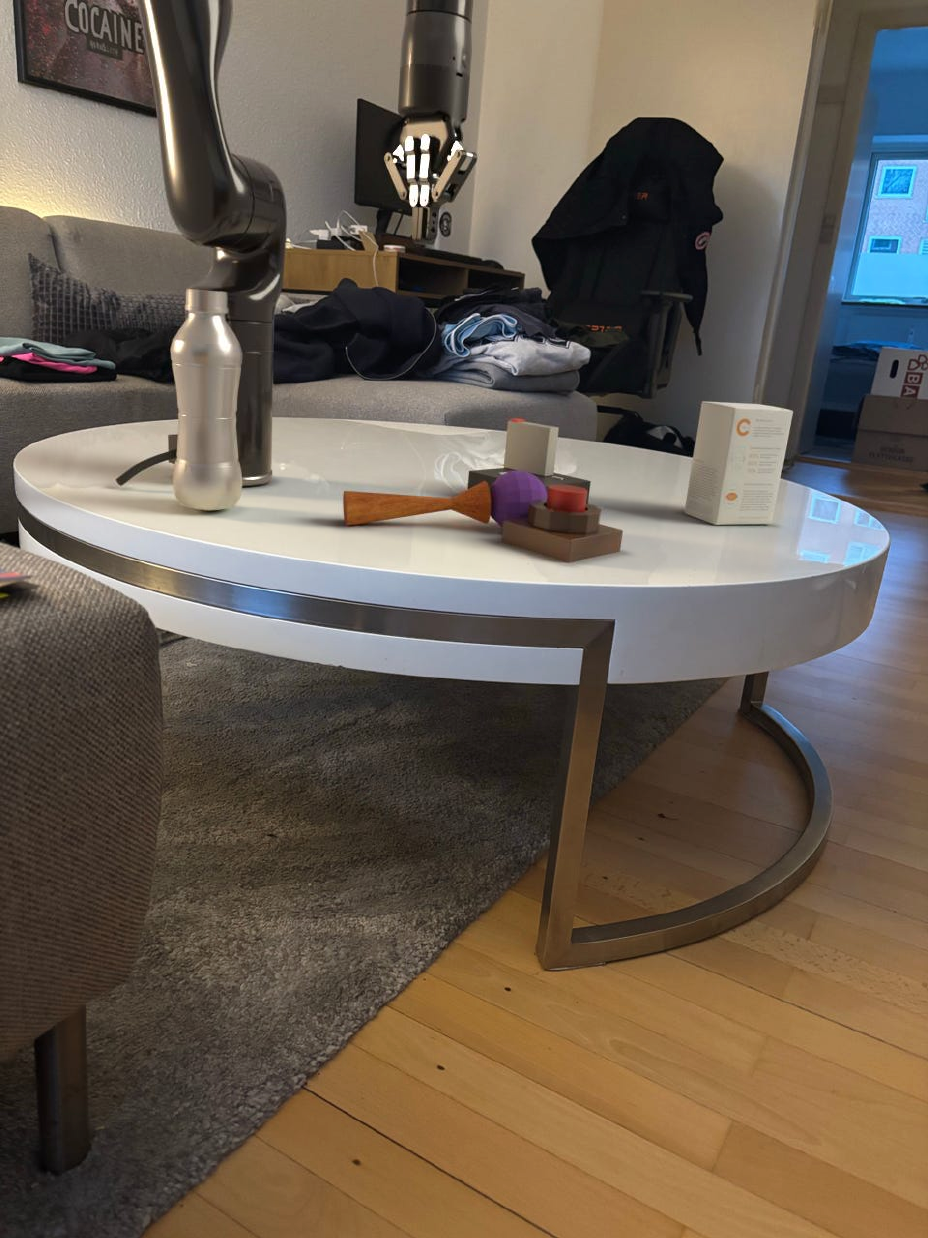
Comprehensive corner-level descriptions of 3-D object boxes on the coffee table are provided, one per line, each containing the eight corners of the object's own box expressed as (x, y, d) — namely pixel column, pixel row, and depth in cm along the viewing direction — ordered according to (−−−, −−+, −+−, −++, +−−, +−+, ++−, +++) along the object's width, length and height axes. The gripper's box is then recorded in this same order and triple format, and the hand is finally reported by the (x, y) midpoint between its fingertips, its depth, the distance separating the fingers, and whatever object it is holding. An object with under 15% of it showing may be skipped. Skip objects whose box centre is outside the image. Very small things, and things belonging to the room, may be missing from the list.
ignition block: (568, 564, 81) (573, 519, 79) (500, 543, 86) (505, 501, 84) (620, 552, 86) (626, 511, 85) (553, 534, 91) (558, 494, 90)
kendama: (340, 476, 89) (536, 469, 93) (343, 538, 90) (537, 528, 94) (346, 476, 83) (555, 469, 88) (350, 542, 84) (556, 531, 89)
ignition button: (568, 515, 82) (571, 493, 82) (538, 507, 85) (540, 485, 84) (592, 512, 85) (595, 490, 84) (562, 504, 87) (564, 483, 87)
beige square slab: (553, 475, 107) (559, 425, 105) (544, 476, 105) (550, 425, 103) (512, 466, 110) (517, 418, 108) (503, 467, 109) (508, 418, 107)
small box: (738, 513, 111) (758, 403, 106) (772, 525, 105) (795, 410, 101) (682, 512, 108) (700, 399, 103) (714, 525, 102) (735, 406, 98)
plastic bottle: (251, 505, 92) (253, 294, 85) (228, 520, 85) (229, 292, 79) (188, 499, 92) (186, 288, 85) (161, 512, 86) (156, 286, 79)
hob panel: (532, 514, 99) (535, 485, 98) (453, 493, 107) (455, 466, 106) (598, 504, 108) (601, 478, 107) (520, 485, 115) (523, 460, 114)
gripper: (368, 67, 99) (360, 239, 105) (454, 53, 91) (441, 241, 97) (418, 83, 105) (408, 246, 110) (504, 72, 96) (488, 249, 102)
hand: (423, 243), depth 103 cm, fingers closed
